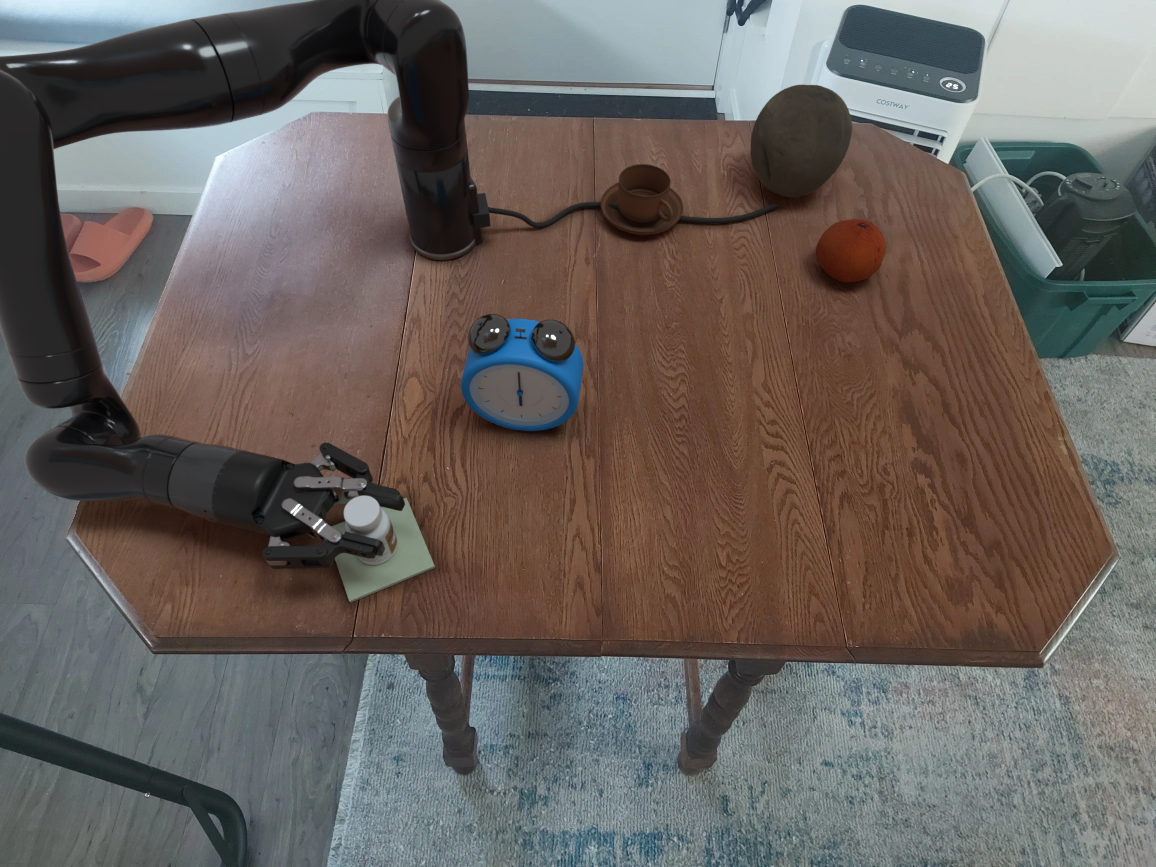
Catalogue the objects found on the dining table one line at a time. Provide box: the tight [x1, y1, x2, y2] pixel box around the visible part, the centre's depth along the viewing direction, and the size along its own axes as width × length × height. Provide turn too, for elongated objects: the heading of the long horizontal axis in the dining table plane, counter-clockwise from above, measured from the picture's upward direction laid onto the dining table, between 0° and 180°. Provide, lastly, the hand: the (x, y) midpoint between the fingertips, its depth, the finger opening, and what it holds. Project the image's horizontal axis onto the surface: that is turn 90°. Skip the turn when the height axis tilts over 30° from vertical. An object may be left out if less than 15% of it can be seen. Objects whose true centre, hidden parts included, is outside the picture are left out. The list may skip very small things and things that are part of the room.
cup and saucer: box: [600, 163, 684, 236], centre depth 109 cm, size 12×12×6 cm
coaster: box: [330, 497, 436, 604], centre depth 79 cm, size 9×9×1 cm
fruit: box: [815, 218, 887, 283], centre depth 102 cm, size 9×9×8 cm
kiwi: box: [749, 84, 853, 199], centre depth 110 cm, size 14×14×15 cm
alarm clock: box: [460, 313, 584, 432], centre depth 84 cm, size 13×6×15 cm, turn 84°
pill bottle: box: [343, 496, 398, 565], centre depth 76 cm, size 4×4×8 cm
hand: (392, 525), depth 74 cm, fingers open, 4 cm apart
